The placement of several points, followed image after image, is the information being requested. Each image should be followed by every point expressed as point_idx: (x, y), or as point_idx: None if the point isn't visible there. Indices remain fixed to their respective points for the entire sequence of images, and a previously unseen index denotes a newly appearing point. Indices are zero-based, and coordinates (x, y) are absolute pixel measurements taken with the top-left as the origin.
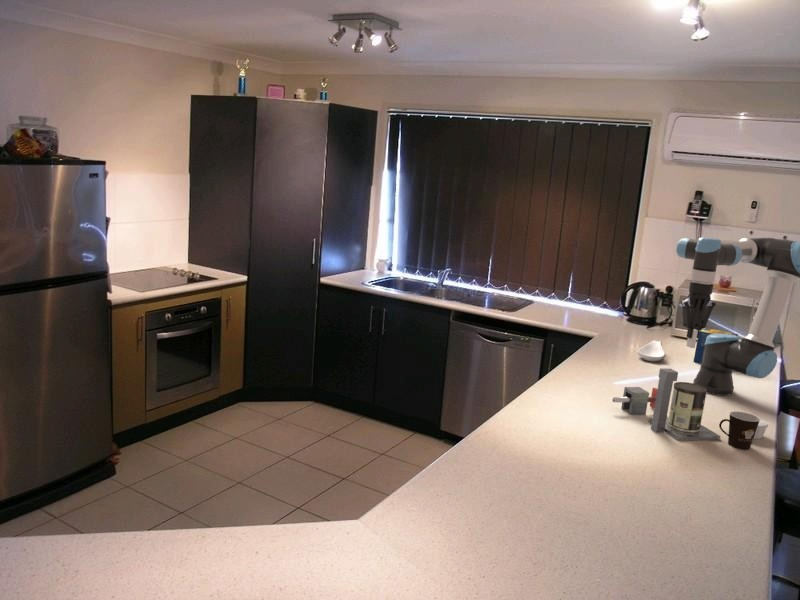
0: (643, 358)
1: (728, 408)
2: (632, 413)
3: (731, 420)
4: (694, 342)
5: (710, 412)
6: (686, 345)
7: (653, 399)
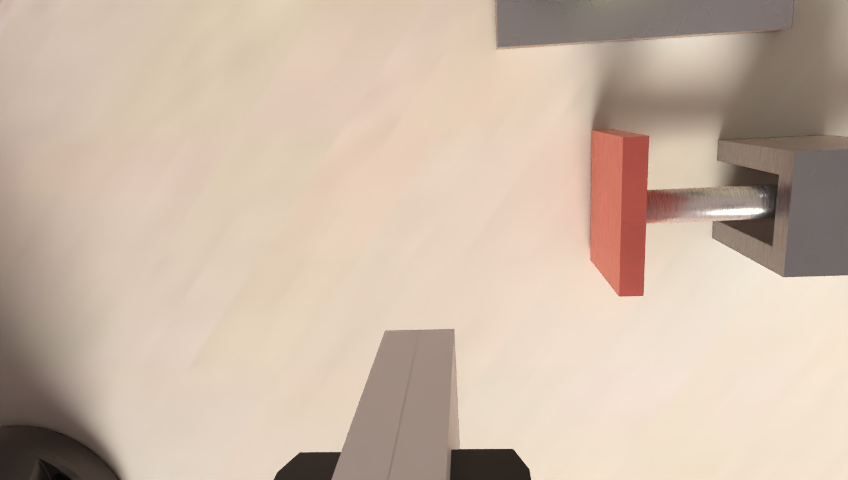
0: None
1: (113, 246)
2: (818, 136)
3: None
4: (398, 375)
5: (263, 184)
6: (459, 443)
7: (680, 191)
